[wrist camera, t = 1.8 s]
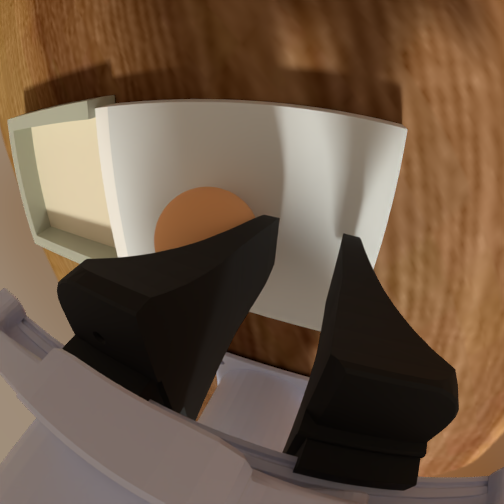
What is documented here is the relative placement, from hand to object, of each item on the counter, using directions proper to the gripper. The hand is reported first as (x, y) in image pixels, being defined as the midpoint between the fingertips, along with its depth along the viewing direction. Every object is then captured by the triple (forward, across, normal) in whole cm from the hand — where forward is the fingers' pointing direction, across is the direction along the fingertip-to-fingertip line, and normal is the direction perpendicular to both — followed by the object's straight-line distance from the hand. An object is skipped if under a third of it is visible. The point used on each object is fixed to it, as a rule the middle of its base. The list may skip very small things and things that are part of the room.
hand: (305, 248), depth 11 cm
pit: (+3, +17, 0) cm, 17 cm away
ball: (-1, +4, 0) cm, 4 cm away
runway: (+3, +4, 0) cm, 5 cm away
